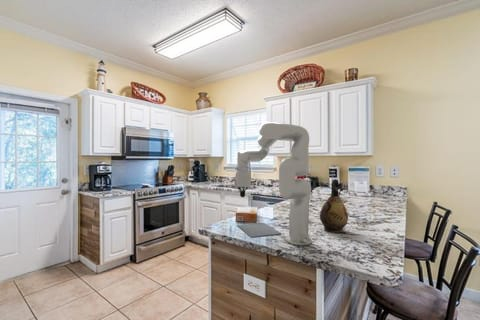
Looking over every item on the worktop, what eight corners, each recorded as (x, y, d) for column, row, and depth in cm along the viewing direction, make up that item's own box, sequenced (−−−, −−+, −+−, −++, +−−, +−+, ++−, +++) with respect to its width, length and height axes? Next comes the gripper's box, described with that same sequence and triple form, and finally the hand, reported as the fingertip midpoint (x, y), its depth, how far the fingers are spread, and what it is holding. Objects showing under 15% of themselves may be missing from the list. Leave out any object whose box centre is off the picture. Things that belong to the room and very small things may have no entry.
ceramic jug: (350, 235, 130) (352, 181, 130) (321, 233, 133) (322, 180, 133) (343, 226, 147) (344, 178, 146) (317, 224, 150) (318, 177, 149)
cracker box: (256, 223, 153) (257, 214, 173) (256, 213, 152) (258, 206, 173) (235, 221, 154) (238, 213, 175) (235, 212, 154) (239, 205, 175)
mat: (281, 234, 130) (281, 233, 130) (251, 237, 124) (251, 236, 124) (263, 223, 151) (263, 222, 151) (237, 225, 144) (237, 224, 144)
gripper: (234, 169, 150) (233, 198, 150) (255, 169, 155) (255, 197, 155) (230, 169, 157) (230, 196, 157) (251, 168, 162) (250, 195, 162)
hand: (242, 196), depth 156 cm, fingers closed
